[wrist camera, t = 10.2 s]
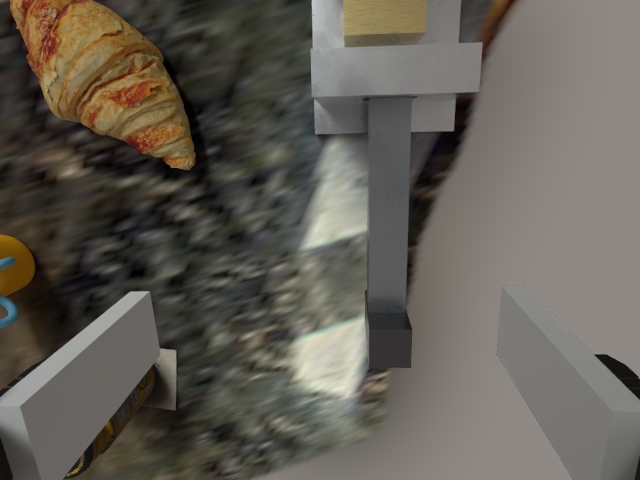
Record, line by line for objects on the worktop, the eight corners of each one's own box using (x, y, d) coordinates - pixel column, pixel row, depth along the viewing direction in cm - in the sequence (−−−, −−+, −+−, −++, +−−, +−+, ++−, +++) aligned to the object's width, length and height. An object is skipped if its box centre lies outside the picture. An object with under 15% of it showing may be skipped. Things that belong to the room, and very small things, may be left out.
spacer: (344, 45, 35) (343, -8, 34) (417, 43, 35) (418, -12, 34) (343, 35, 31) (343, -26, 30) (425, 32, 31) (428, -30, 30)
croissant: (229, 142, 42) (238, 114, 35) (152, 210, 40) (143, 196, 32) (64, -30, 39) (34, -103, 31) (-32, 32, 36) (-90, -31, 29)
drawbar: (366, 67, 35) (371, 48, 27) (405, 65, 34) (422, 47, 27) (364, 321, 40) (368, 367, 32) (398, 321, 40) (410, 367, 32)
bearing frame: (310, -99, 34) (296, -184, 24) (463, -108, 33) (508, -200, 24) (316, 134, 38) (305, 135, 29) (451, 130, 37) (484, 131, 28)
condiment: (99, 340, 45) (13, 413, 33) (176, 349, 45) (116, 426, 33) (102, 399, 47) (21, 487, 35) (176, 408, 47) (120, 500, 35)
